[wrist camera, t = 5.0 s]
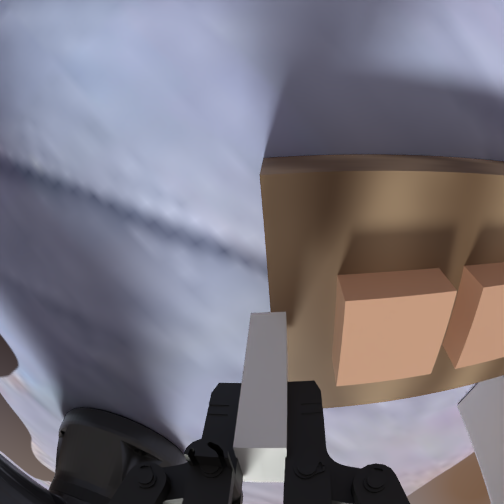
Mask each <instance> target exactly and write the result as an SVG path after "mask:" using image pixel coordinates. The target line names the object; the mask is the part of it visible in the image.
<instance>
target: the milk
mask: <svg viewBox="0 0 504 504" xmlns="http://www.w3.org/2000/svg"><path fill="white" fill-rule="evenodd" d="M457 407H458V410H459V412H460V414H461V417H462V419H463V422H464V424H465V427H466V430H467V432H468V435H469V437H470V440H471V443H472V446H473V448H474V451H475V454H476V457H477V460H478V462H479V465H480V468H481V471H482V475H483V478H484V481H485V484H486V487H487V490H488V494H489V497H490V501H491V504H504V375H502V376H499V377H496V378H492V379H489V380H485V381H482V382H478V383H477V385H476V386H475V387H474V388H473V389H472V390H471V391H470V392H469V393H468V394H467V396H466V397H465V398H464V399H463V400H462V401H461V402H460V403H459V404H458V405H457Z"/></svg>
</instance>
